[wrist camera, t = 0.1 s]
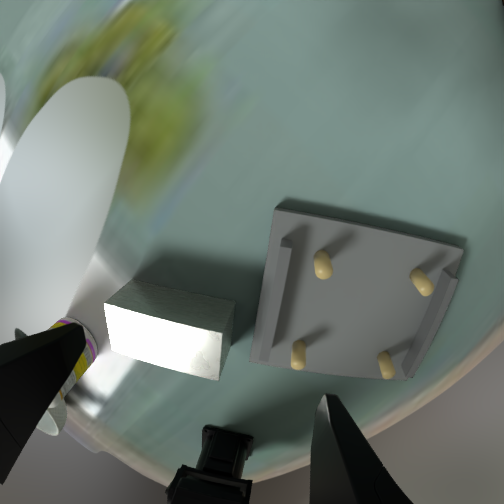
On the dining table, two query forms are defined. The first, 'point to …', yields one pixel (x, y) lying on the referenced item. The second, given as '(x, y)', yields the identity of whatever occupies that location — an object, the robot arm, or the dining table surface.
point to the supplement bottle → (81, 365)
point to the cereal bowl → (54, 419)
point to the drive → (171, 327)
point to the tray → (350, 297)
